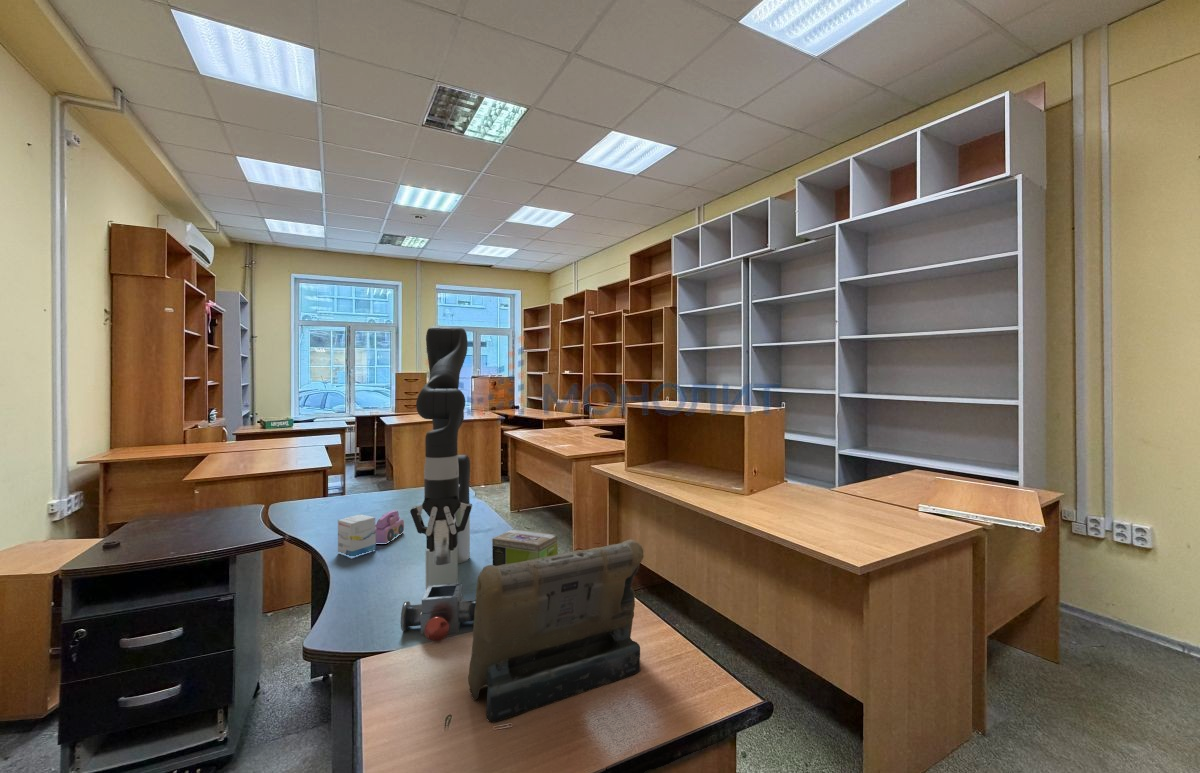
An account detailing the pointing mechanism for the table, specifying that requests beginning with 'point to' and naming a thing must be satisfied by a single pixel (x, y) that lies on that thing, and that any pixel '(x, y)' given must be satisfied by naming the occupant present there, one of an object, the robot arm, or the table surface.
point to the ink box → (356, 535)
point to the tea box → (522, 546)
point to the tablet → (554, 627)
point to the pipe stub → (441, 542)
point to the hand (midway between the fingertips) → (442, 549)
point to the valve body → (439, 612)
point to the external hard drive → (441, 570)
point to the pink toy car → (388, 527)
